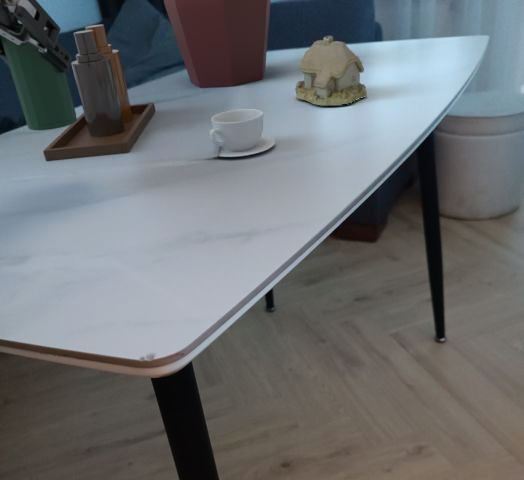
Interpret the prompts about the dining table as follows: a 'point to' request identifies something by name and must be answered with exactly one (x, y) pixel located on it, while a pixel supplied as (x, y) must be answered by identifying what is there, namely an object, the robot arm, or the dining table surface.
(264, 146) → the teacup
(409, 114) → the dining table surface
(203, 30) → the bucket
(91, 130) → the gray bottle
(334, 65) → the ceramic model
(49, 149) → the tray
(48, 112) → the green bottle
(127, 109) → the amber bottle
